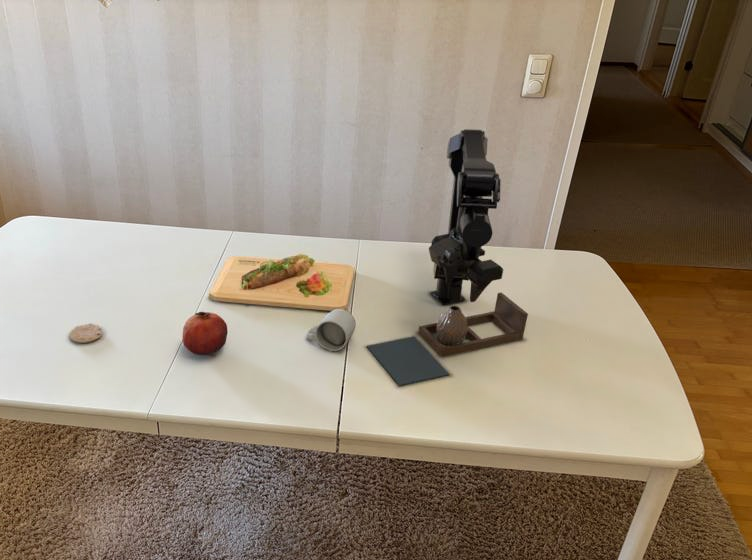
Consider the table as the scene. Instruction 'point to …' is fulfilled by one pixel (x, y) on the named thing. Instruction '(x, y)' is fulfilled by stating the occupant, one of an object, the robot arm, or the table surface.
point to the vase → (452, 326)
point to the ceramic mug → (334, 330)
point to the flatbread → (85, 333)
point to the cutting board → (284, 282)
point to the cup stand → (504, 317)
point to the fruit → (204, 333)
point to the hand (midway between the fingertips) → (460, 292)
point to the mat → (407, 361)
